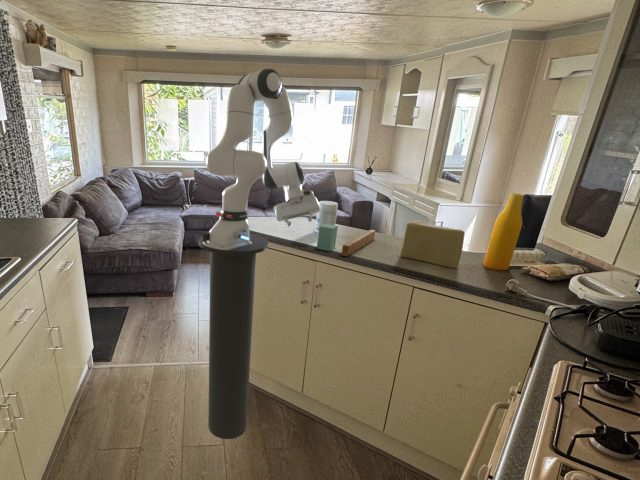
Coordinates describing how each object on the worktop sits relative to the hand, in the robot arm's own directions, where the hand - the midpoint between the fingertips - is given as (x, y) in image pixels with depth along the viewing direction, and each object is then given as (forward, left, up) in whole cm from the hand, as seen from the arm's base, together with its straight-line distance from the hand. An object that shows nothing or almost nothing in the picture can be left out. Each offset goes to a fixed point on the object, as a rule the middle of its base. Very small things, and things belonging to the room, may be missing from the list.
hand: (299, 223), depth 194 cm
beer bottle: (+21, -79, -8) cm, 82 cm away
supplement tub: (+23, -3, -8) cm, 24 cm away
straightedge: (+10, -25, -8) cm, 28 cm away
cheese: (+10, -56, -8) cm, 57 cm away
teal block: (-2, -15, -8) cm, 17 cm away
